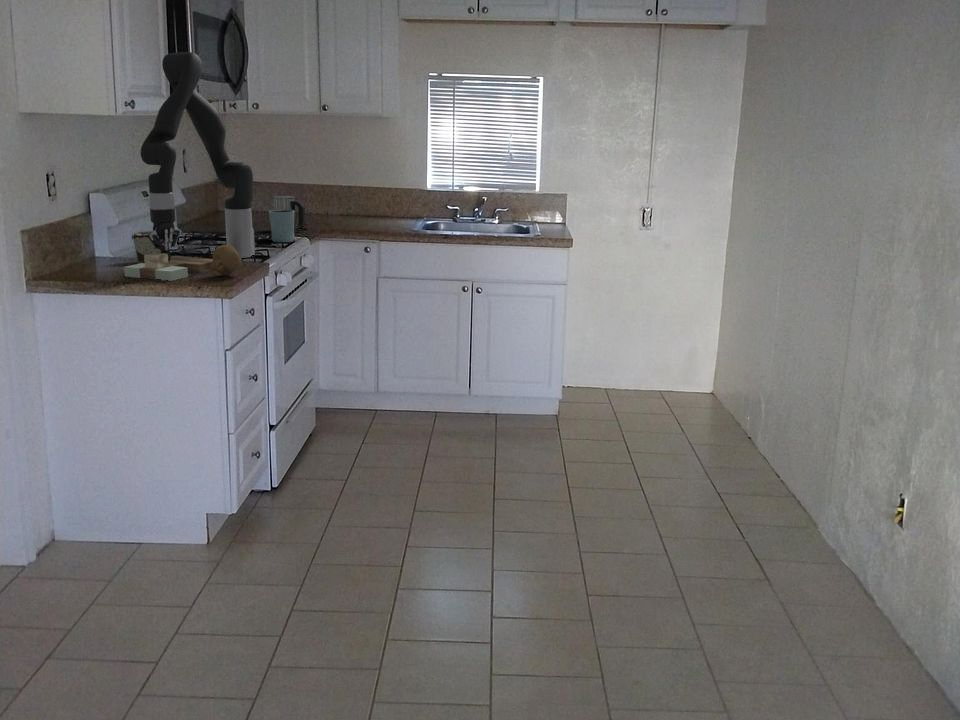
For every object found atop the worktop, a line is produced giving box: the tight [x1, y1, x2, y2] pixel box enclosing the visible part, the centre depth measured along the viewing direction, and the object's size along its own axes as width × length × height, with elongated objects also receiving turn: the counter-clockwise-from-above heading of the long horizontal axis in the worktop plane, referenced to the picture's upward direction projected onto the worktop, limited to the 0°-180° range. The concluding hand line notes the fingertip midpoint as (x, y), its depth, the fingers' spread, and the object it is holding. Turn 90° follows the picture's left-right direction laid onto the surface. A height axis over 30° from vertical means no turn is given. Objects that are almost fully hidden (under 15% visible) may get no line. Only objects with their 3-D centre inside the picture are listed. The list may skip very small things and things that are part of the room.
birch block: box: [144, 253, 168, 269], centre depth 294 cm, size 5×5×4 cm
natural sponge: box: [212, 244, 243, 277], centre depth 298 cm, size 9×9×10 cm
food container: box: [131, 230, 163, 264], centre depth 322 cm, size 12×6×10 cm, turn 92°
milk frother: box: [272, 195, 311, 232], centre depth 403 cm, size 14×16×15 cm
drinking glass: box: [268, 209, 295, 243], centre depth 373 cm, size 10×10×12 cm
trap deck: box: [123, 255, 215, 282], centre depth 303 cm, size 25×18×3 cm
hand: (166, 261), depth 299 cm, fingers closed
